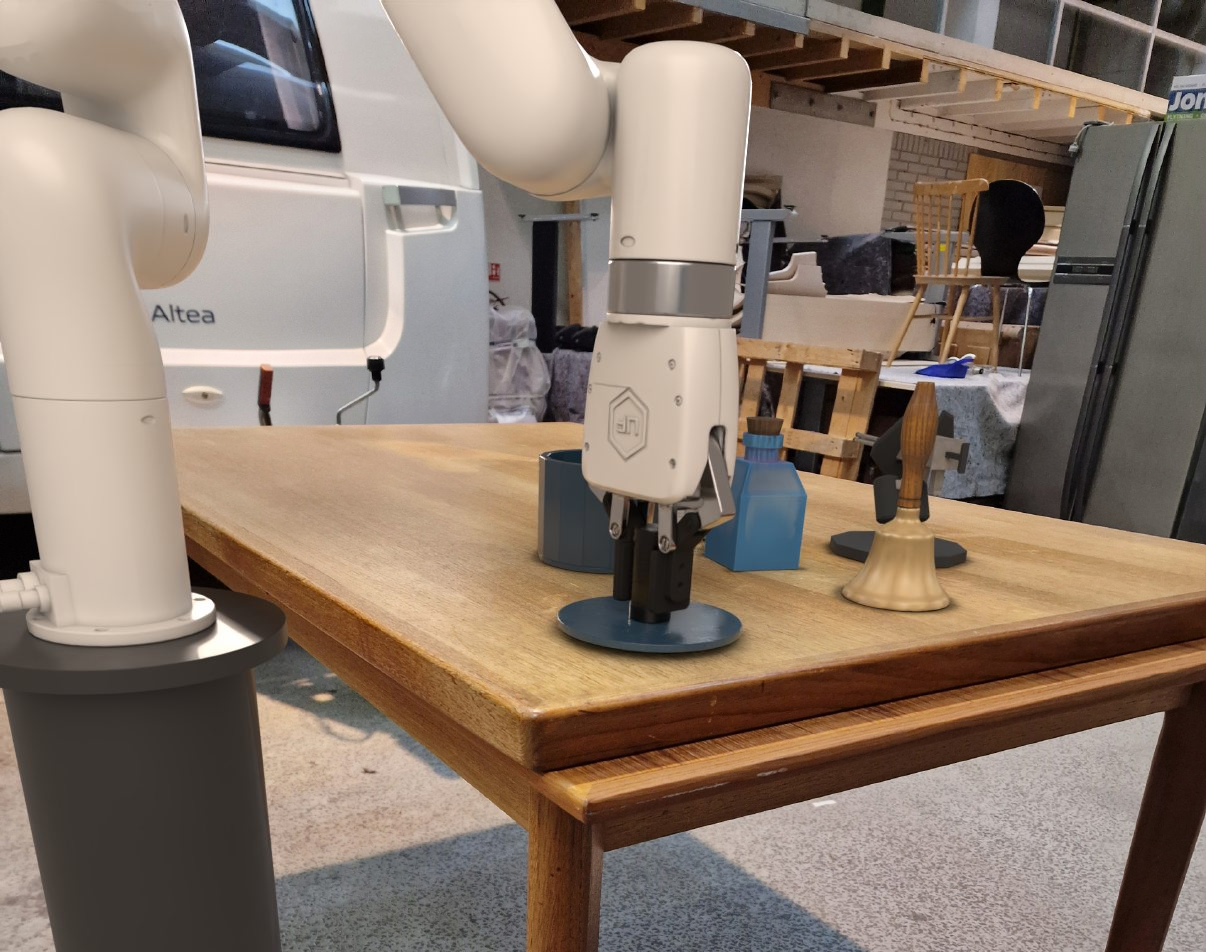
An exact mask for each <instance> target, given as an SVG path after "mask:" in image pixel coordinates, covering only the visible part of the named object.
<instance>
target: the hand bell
mask: <svg viewBox="0 0 1206 952" xmlns="http://www.w3.org/2000/svg"><path fill="white" fill-rule="evenodd" d="M903 416H904V418H903V422H902V430H901V455H902V461H903V475H902V478H901V480H902V481H901V487H900V492H899V497H900V498H899V499H898V502H897V504H898V508H897V513H896V516H895V518H894V519H893V520H892V521H890V522H888V523H886V524H880V525H879V526H878V527H877V528H876V529H875V530H874V531H875V535H874V539H873V543H872V546H871V549H870V552H869V555H868V557H867V560H866V562H864V564H863V566H862V568H861V569H860V570H859V572H858V573H857V574H856V575H855V577H853V578H852V580H851V579H850V581H849V582H846V584H845V585H844V586H843V589H841V594H842V596H843V597H844V598H846V599H848V600H849V601H851V602H854V603H857V604H859V605H863V606H866V607H870V608H876V609H882V610H890V611H902V612H927V611H934V610H935V611H936V610H940V609H944V608H947V606H949V605H950V603H951V600H950V596H949V594H948V592H947V591H946V590H945V589H944V587H943V586H942V584H941V582H940V580H939V578H938V575H937V570H936V567H935V562H934V539H935V538H936V536H935V532H934V530H933V529H931V528H929V527H928V526H927V525H925V524H924V522H922V523H921V521H920V520H919V513H920V508H919V507H920V504H921V501H920V498H921V491H922V481H923V474H924V470H925V467H926V464H927V462H928V459H929V457H930V455H931V452H932V450H933V447H934V443H935V439H936V435H937V428H938V418H939V407H938V402H937V395H936V383H935V382H934V381H917V382H916V385H915V388H914V391H913V392H912V395H911V397H910V399H909V402H908V403H907V406H906V409H905V411H904V413H903Z"/></svg>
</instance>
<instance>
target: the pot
mask: <svg viewBox="0 0 1206 952" xmlns="http://www.w3.org/2000/svg"><path fill="white" fill-rule="evenodd" d="M537 500H538V501H537V502H538V503H537V550H536V551H537V553H538V559H539V560H540V561H541V562H543V563H544V564H547V565H549V566H552V567H554V568H559V569H562V570H569V571H574V572H581V573H590V574H602V575H603V574H607V575H610V574H611V575H614V558H615V540H618V539H614V538H612V536H611V535H610V531H609V526H610V519H609V517H608V515H607V513H606V511H605V509H604V506H603V503H602V502H601V501H600V500H599V499H598V497H597V496H596V495H595V494H594V493H593V492H592V491H591V489H590V488H589V484H588V482H587V481H586V479H585V478H584V476H583V473H582V448H569V449H555V450H549V451H544V452H542V453H541V454H539V455H538V497H537ZM637 501H638V500H634V502H635V504H636V506H637ZM658 511H659V503H656V502H655V508H654V516H653V523H656V524H658Z"/></svg>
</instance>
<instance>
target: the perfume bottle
mask: <svg viewBox="0 0 1206 952" xmlns="http://www.w3.org/2000/svg"><path fill="white" fill-rule="evenodd" d="M784 421H785V419H784V418H779V417H769V416H746V428H747V431H744V432H743V433H742V441H741V442H742V444H741V446H744V456H736V461H735V469H734V476H733V481H732V485H731V492H732V496H733V500H734V504H735V509H736V513H735V516H734V518H732V519H731V520H729V521H727V522H724V523H722V524H720V525H718V526H716V527H713V528H712V530H711V531H710V532H709V533H708V534H707V535H706V539H704V540H705V541H704V550H703V552H704V554H703V556H704V557H706V558H708V559H710V560H711V561H714V562H715V563H717V564H719V565H720V566H723V567H725V568H727V569H729V570H731V571H733V572H748V571H749V572H751V571H753V572H755V571H779V570H780V571H781V570H799V568H800V561H801V560H800V559H801V551H802V542H803V535H804V528H805V527H804V526H805V519H806V518H805V517H806V509H807V502H808V494H807V492H806V490H805V487H804V485H803V483H802V480H801V478H800V476H799V473H798V472H797V469H796V467H795V465H794V463H793V462H790V461H787V460H784V459H780V458H779V456H780V455H779V453H780V449H781V448H784V440H785V434H782V433H781V431H782V429H783V425H784Z"/></svg>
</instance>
